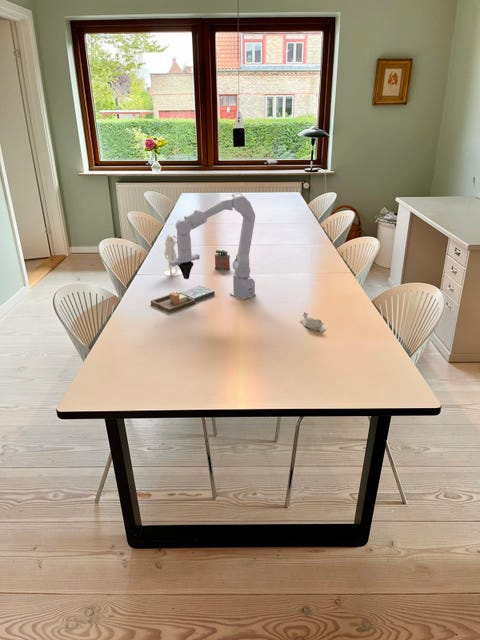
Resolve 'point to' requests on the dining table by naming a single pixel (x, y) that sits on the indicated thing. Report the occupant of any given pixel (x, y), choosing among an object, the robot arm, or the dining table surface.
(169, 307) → the box
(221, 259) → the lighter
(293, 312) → the dining table surface
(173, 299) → the tile
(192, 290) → the slate plate
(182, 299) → the tile
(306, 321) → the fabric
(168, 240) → the female figurine
